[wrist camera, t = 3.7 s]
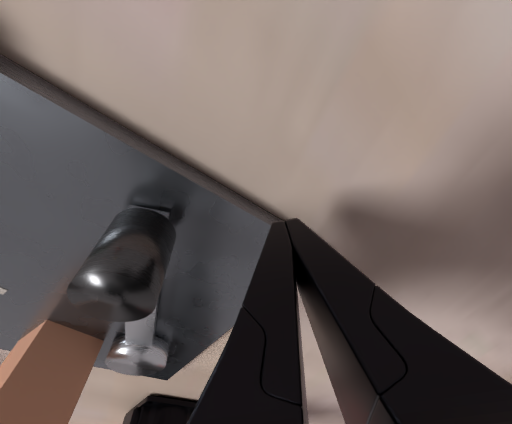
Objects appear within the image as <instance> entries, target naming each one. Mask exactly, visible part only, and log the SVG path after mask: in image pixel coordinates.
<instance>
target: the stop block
mask: <svg viewBox="0 0 512 424" xmlns="http://www.w3.org/2000/svg"><path fill="white" fill-rule="evenodd" d="M103 342H104V341H103V340H101V339H98V338H95V337H92V336H90V335H87V334H84V333H82V332H79V331H76V330H74V329H71V328H68V327H66V326H63V325H60V324H58V323H55V322H52V321H50V320H46V321H44V322H43V323H42V324H40V325H39V326H38V327H36V328H35V329H34V330H32V331H31V332H30V333H28V334H27V335H26V336H24V337H23V338H22V339H20V340H19V341H18V342H17V343H16V345H15V346H14V348H13V349H12V350H11V352H10V353H9V355H8V356H7V357H6V359H5V360H4V362H3V363H2V364H1V366H0V424H68V422H69V420H70V418H71V416H72V413H73V411H74V409H75V406H76V404H77V402H78V399H79V397H80V395H81V393H82V390H83V388H84V386H85V383H86V381H87V379H88V377H89V374H90V372H91V370H92V367H93V365H94V363H95V360H96V358H97V356H98V354H99V351H100V349H101V347H102V344H103Z"/></svg>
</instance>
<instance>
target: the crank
mask: <svg viewBox="0 0 512 424" xmlns="http://www.w3.org/2000/svg"><path fill="white" fill-rule="evenodd" d="M169 215H170V213H169V212H164V211H159V210H154V209H149V208H143V207H138V206H133V205H130V206H129V207H128V209H126V210H123V211H121V212H120V213H118V214H117V215H116V216H115V217H114V219H113V220H112V222H111V223H110V225H109V226H108V228H107V229H106V231H105V232H104V234H103V235H102V237H101V238H100V240H99V241H98V242H97V244H96V245H95V247H94V248H93V250H92V251H91V253H90V254H89V256H88V257H87V259H86V260H85V262H84V263H83V265H82V266H81V268H80V269H79V271H78V272H77V274H76V275H75V276H74V278H73V279H72V281H71V282H70V284H69V285H68V288H67V296H68V299H69V301H70V302H71V303H72V304H73V305H74V306H75V307H76V308H77V309H78V310H80V311H81V312H83V313H85V314H87V315H89V316H92V317H94V318H97V319H101V320H106V321H112V322H125V335H123V336H120V337H118V338H116V339H115V340H114V341H113V342H112V345H111V347H110V350H109V352H108V355H107V357H106V360H105V364H106V366H107V367H108V368H110V369H111V370H113V371H115V372H118V373H122V374H126V375H135V376H143V375H151V374H155V373H158V372H160V371H162V370H163V369H164V368H165V366H166V361H167V357H168V352H169V346H168V344H167V343H166V342H165V341H164V340H162V339H160V338H158V337H155V336H154V335H155V327H156V319H157V311H158V303H159V295H160V291H161V287H162V284H163V281H164V277H165V274H166V271H167V267H168V264H169V261H170V257H171V254H172V251H173V247H174V244H175V241H176V231H175V228H174V226H173V225H172V223H171V222H170V221H169Z"/></svg>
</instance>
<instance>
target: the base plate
mask: <svg viewBox="0 0 512 424" xmlns="http://www.w3.org/2000/svg"><path fill="white" fill-rule="evenodd" d="M130 205H133V206H138V207H143V208H149V209H154V210H159V211H164V212H169V213H170V215H169V221H170V222H171V223H172V225H173V226H174V228H175V231H176V241H175V244H174V247H173V251H172V254H171V257H170V261H169V264H168V267H167V271H166V274H165V277H164V281H163V284H162V287H161V291H160V295H159V303H158V311H157V319H156V327H155V335H154V336H155V337H158V338H160V339H162V340H164V341H165V342H166V343H167V344H168V346H169V352H168V357H167V361H166V366H165V368H164V369H163V370H162V371H160V372H158V373H155V374H151V375H143V376H147V377H152V378H157V379H163V380H168V379H169V378H170V377H172V376H173V375H174V374H175V373H177V372H178V371H179V370H180V369H181V368H183V367H184V366H185V365H186V364H188V363H189V362H190V361H191V360H192V359H194V358H195V357H196V356H197V355H199V354H200V353H201V352H202V351H204V350H205V349H206V348H207V347H208V346H210V345H211V344H212V343H213V342H215V341H216V340H217V339H218V338H219V337H221V336H222V335H223V334H224V333H226V332H227V331H228V330H229V329H231V328H232V327H233V326H234V324H235V322H236V319H237V317H238V314H239V311H240V308H241V307H242V303H243V301H244V298H245V295H246V292H247V290H248V287H249V284H250V282H251V279H252V276H253V273H254V271H255V268H256V265H257V263H258V260H259V257H260V254H261V252H262V249H263V246H264V244H265V241H266V238H267V235H268V233H269V230H270V227H271V225H272V223H273V222H277V221H282V220H281V219H279V218H277V217H276V216H274V215H272V214H271V213H269V212H267V211H266V210H264V209H262V208H260V207H259V206H257V205H255V204H254V203H252V202H250V201H249V200H247V199H245V198H243V197H242V196H240V195H238V194H237V193H235V192H233V191H232V190H230V189H228V188H227V187H225V186H223V185H221V184H220V183H218V182H216V181H215V180H213V179H211V178H210V177H208V176H206V175H204V174H203V173H201V172H199V171H198V170H196V169H194V168H193V167H191V166H189V165H188V164H186V163H184V162H182V161H181V160H179V159H177V158H176V157H174V156H172V155H171V154H169V153H167V152H165V151H164V150H162V149H160V148H159V147H157V146H155V145H154V144H152V143H150V142H149V141H147V140H145V139H143V138H142V137H140V136H138V135H137V134H135V133H133V132H132V131H130V130H128V129H127V128H125V127H123V126H121V125H120V124H118V123H116V122H115V121H113V120H111V119H110V118H108V117H106V116H104V115H103V114H101V113H99V112H98V111H96V110H94V109H93V108H91V107H89V106H88V105H86V104H84V103H82V102H81V101H79V100H77V99H76V98H74V97H72V96H71V95H69V94H67V93H65V92H64V91H62V90H60V89H59V88H57V87H55V86H54V85H52V84H50V83H49V82H47V81H45V80H43V79H42V78H40V77H38V76H37V75H35V74H33V73H32V72H30V71H28V70H26V69H25V68H23V67H21V66H20V65H18V64H16V63H15V62H13V61H11V60H10V59H8V58H6V57H4V56H3V55H1V54H0V349H3V350H9V351H11V350H12V349H13V348H14V346H15V345H16V343H17V342H18V341H19V340H20V339H22V338H23V337H24V336H26V335H27V334H28V333H30V332H31V331H32V330H34V329H35V328H36V327H38V326H39V325H40V324H42V323H43V322H44V321H46V320H50V321H52V322H55V323H58V324H60V325H63V326H66V327H68V328H71V329H74V330H76V331H79V332H82V333H84V334H87V335H90V336H92V337H95V338H98V339H101V340H103V341H104V342H103V344H102V347H101V349H100V351H99V354H98V356H97V358H96V360H95V363H94V365H93V366H94V367H99V368H104V369H110V368H108V367H107V366H106V364H105V360H106V357H107V355H108V352H109V350H110V347H111V345H112V342H113V341H114V340H115V339H116V338H118V337H120V336H123V335H125V322H112V321H106V320H101V319H97V318H94V317H92V316H89V315H87V314H85V313H83V312H81V311H80V310H78V309H77V308H76V307H75V306H74V305H73V304H72V303H71V302H70V301H69V299H68V296H67V288H68V285H69V284H70V282H71V281H72V279H73V278H74V276H75V275H76V274H77V272H78V271H79V269H80V268H81V266H82V265H83V263H84V262H85V260H86V259H87V257H88V256H89V254H90V253H91V251H92V250H93V248H94V247H95V245H96V244H97V242H98V241H99V240H100V238H101V237H102V235H103V234H104V232H105V231H106V229H107V228H108V226H109V225H110V223H111V222H112V220H113V219H114V217H115V216H116V215H117V214H118V213H120V212H121V211H123V210H126V209H128V207H129V206H130ZM110 370H111V369H110Z"/></svg>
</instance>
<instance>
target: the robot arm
mask: <svg viewBox="0 0 512 424" xmlns="http://www.w3.org/2000/svg"><path fill="white" fill-rule="evenodd" d="M296 283H297V285H296ZM297 286H298V290H299V293H300V296H301V298H302V301H303V304H304V307H305V310H306V313H307V315H308V318H309V321H310V324H311V327H312V330H313V332H314V335H315V338H316V341H317V344H318V347H319V350H320V352H321V355H322V358H323V361H324V364H325V367H326V369H327V372H328V375H329V378H330V381H331V384H332V386H333V389H334V392H335V395H336V398H337V401H338V404H339V406H340V409H341V412H342V415H343V418H344V421H345V423H346V424H512V384H510V383H509V382H507V381H506V380H504V379H503V378H502V377H500V376H499V375H497V374H496V373H494V372H493V371H492V370H490V369H489V368H487V367H486V366H485V365H483V364H482V363H480V362H479V361H477V360H476V359H475V358H473V357H472V356H470V355H469V354H467V353H466V352H465V351H463V350H462V349H460V348H459V347H458V346H456V345H455V344H453V343H452V342H450V341H449V340H448V339H446V338H445V337H443V336H442V335H441V334H439V333H438V332H436V331H435V330H433V329H432V328H431V327H429V326H428V325H427V324H425V323H424V322H423V321H421V320H420V319H418V318H417V317H416V316H414V315H413V314H412V313H410V312H409V311H408V310H406V309H405V308H404V307H403V306H401V305H400V304H399V303H398V302H396V301H395V300H394V299H393V298H392V297H390V296H389V295H388V294H387V293H385V292H384V291H383V290H382V289H381V288H380V287H378V286H375V283H374V282H372V281H371V280H370V279H369V278H368V277H366V276H365V275H364V274H363V273H362V272H361V271H359V270H358V269H357V268H356V267H355V266H353V265H352V264H351V263H350V262H349V261H348V260H346V259H345V258H344V257H343V256H342V255H340V254H339V253H338V252H337V251H336V250H335V249H333V248H332V247H331V246H330V245H329V244H327V243H326V242H325V241H324V240H323V239H322V238H320V237H319V236H318V235H317V234H316V233H314V232H313V231H312V230H311V229H310V228H309V227H307V226H306V225H305V224H304V223H303V222H301V221H300V220H299V219H297V218H294V219H289V220H286V221H277V222H273V223H272V225H271V227H270V230H269V233H268V235H267V238H266V241H265V244H264V246H263V249H262V252H261V254H260V257H259V260H258V263H257V265H256V268H255V271H254V273H253V276H252V279H251V282H250V284H249V287H248V290H247V292H246V295H245V298H244V301H243V303H242V307H241V308H240V311H239V314H238V317H237V319H236V322H235V324H234V327H233V329H232V332H231V334H230V337H229V339H228V341H227V343H226V346H225V348H224V350H223V352H222V354H221V356H220V358H219V360H218V362H217V364H216V366H215V368H214V370H213V372H212V374H211V376H210V378H209V380H208V382H207V384H206V386H205V388H204V390H203V392H202V394H201V396H200V398H199V400H198V402H197V403H194V402H188V401H182V400H175V399H169V398H162V397H156V396H148V397H146V398H145V399H144V400H143V401H141V402H140V403H139V404H138V405H136V406H135V407H134V408H133V409H131V410H130V411H129V412H128V413H127V414H126V416H125V418H124V421H123V424H309V423H308V411H307V399H306V387H305V376H304V364H303V352H302V341H301V329H300V317H299V305H298V294H297Z"/></svg>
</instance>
